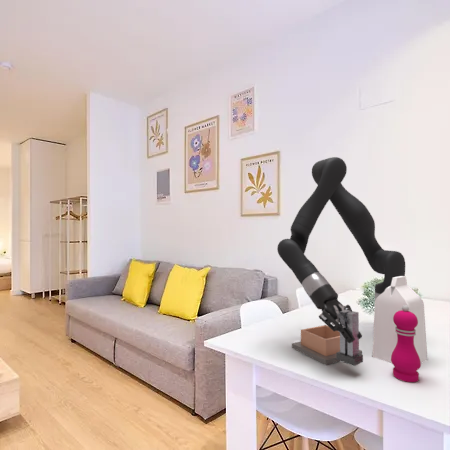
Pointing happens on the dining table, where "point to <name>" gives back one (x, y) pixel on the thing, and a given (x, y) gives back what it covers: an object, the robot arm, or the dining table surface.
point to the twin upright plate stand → (351, 350)
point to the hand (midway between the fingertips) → (355, 339)
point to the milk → (385, 325)
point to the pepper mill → (405, 347)
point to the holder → (319, 344)
